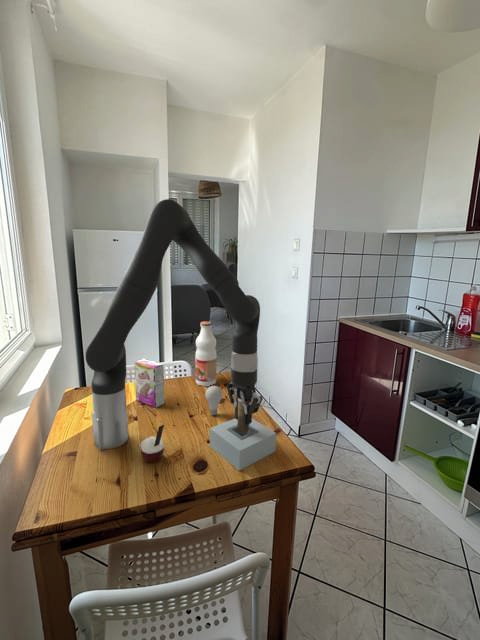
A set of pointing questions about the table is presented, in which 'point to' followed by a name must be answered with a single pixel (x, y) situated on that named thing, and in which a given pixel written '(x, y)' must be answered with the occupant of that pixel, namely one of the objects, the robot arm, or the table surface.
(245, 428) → the dowel
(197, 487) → the table surface
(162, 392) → the candy bar box
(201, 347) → the fruit juice
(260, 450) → the socket block
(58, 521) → the table surface
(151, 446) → the cocoa
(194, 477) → the table surface
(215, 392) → the lightbulb
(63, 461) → the table surface
